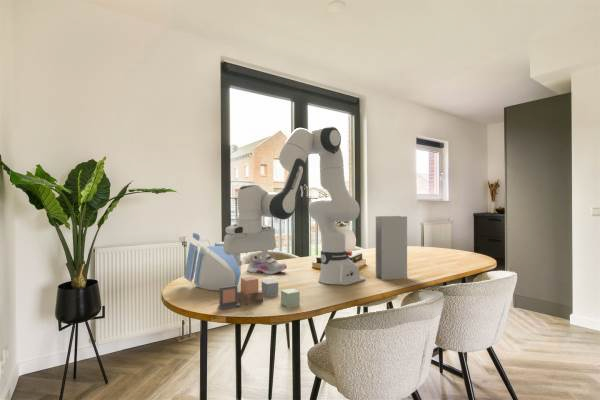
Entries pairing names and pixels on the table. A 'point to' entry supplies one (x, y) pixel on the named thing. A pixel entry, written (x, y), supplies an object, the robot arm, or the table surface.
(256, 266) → the running shoe
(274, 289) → the slate cube
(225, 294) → the tile
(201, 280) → the retro all-in-one computer
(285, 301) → the sage cube
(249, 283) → the terracotta cube
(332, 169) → the robot arm
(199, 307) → the table surface
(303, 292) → the table surface
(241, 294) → the brown curved block
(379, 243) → the tall grey pillar
